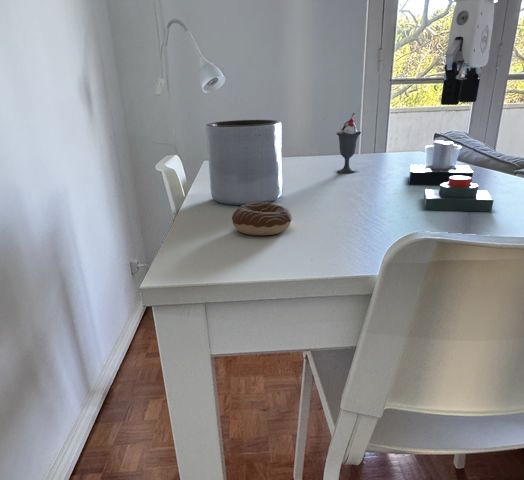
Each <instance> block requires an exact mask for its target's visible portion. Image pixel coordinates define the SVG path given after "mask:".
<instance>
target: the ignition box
mask: <svg viewBox="0 0 524 480" xmlns="http://www.w3.org/2000/svg"><path fill="white" fill-rule="evenodd" d="M448 183H449V182H444V183H441V184H440V185H439V189H435V188H433V189H431V188H430V189H429V188H428V189H427V188H426V189H424V195H423V203H424V204H423V205H424V210H425V211H445V212H446V211H447V212H451V211H452V212H453V211H454V212H480V213H481V212H483V213H488V212H489V213H491V212H492V210H493V205H494V198H492V196H491V194H490V193H489V191H488V190H486V189H485V190H483V189H479V185H478V183H473V182H471V183H470V187H452V186H448Z"/></svg>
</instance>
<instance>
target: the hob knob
mask: <svg viewBox="0 0 524 480" xmlns="http://www.w3.org/2000/svg"><path fill="white" fill-rule="evenodd" d="M433 145H434V152H433V159H432V167H431V168H432V169H436V170H447V169H449V168H450V162H451V155H452V149H453V145H454V142H453V141H444V140H435V141H434V144H433Z"/></svg>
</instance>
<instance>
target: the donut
mask: <svg viewBox="0 0 524 480" xmlns="http://www.w3.org/2000/svg"><path fill="white" fill-rule="evenodd" d="M231 222H232V225H233V227H234V228H235V229H236V230H237V231H238V232H240V233H242V234H246V235H250V236H272V235H277V234H280V233H283V232H285V231H286V230H287V229H289V228H290V226H291V224H292V222H293V215H292V213H291V211H290V210H289V209H288V208H287V207H285V206H284V205H280V204H276V203H273V202H269V203H249V204H246V205H240V207H238V208H237V209H236V210H234V212H233V214H232V217H231Z"/></svg>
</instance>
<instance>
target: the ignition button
mask: <svg viewBox="0 0 524 480" xmlns="http://www.w3.org/2000/svg"><path fill="white" fill-rule="evenodd" d="M470 183H472V182H471V177H467V176H451V177H449V183H448V186H452V187H470Z"/></svg>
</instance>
